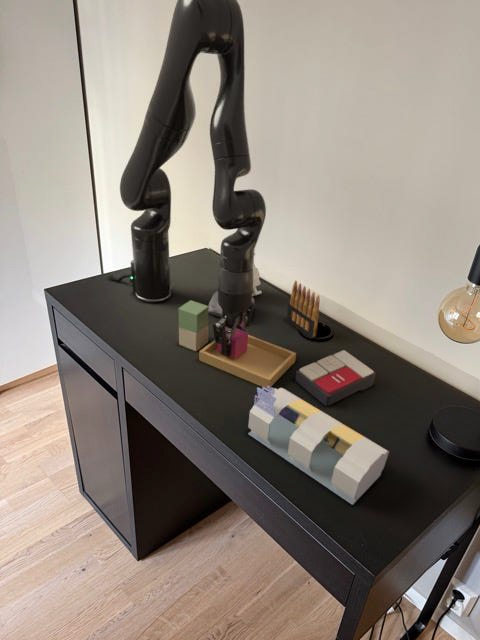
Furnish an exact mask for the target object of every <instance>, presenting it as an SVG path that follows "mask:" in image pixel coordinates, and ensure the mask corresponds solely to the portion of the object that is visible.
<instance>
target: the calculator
mask: <svg viewBox="0 0 480 640" xmlns="http://www.w3.org/2000/svg"><path fill="white" fill-rule="evenodd" d="M295 373H296V374H295V382H297V384H299V385H300V386H301V387H302V388H303V389H304V390H306V391H307V392H308V393H309V394H310V395H312V396H313V397H314V398H316V399H317V400H318V401H319V402H320V403H322V404H323V405H324V406H325V407H329V406H332V405H333V404H335V403H337V402H339V401H341V400H343V399H345V398H347V397H349V396H351V395H353V394H355V393H357V392H359V391H364V390H366V389H368V388H371V387H373V386H374V383H375V380H376V379H375V378H376V375H377V373H376V371H375V370H373V369H371V368H370V367H369V366H367V365H366V364H365V363H364V362H362V361H360V360H359V359H357V358H356V357H355V356H354V355H352V354H350V353H349V352H348V351H346V350H345V349H343V350H340V351H338V352H335V353H333V354H330V355H328V356H326V357H323V358H321V359H319V360H317V361H314V362H312V363H310V364H307V365H305V366H302V367H301V368H299V369H297V370H296V372H295Z"/></svg>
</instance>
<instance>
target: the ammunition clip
mask: <svg viewBox="0 0 480 640" xmlns="http://www.w3.org/2000/svg"><path fill="white" fill-rule="evenodd" d="M320 301H321V299H320V294H318V295H317V296H316V293H315V291H313V292H312V293H311V288H308V290H307V287H306V286H305V285H304V286H303V287H302V283H301V282H300V283H299V284H298V281H297V280H294V282H293V285H292V291H291V294H290V299H289V303H288V304H287V305H288V306H287V312H286V318H285V320H286V322H287V323H289V324H291V325H292V326H293V327H294V328H296V329H297V330H298V331H300V332H301V333H303V334H304V335H306V336H307V338H309V339H315V338H317V336H318V330H319V322H320V319H319V314H320V303H321V302H320Z"/></svg>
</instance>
